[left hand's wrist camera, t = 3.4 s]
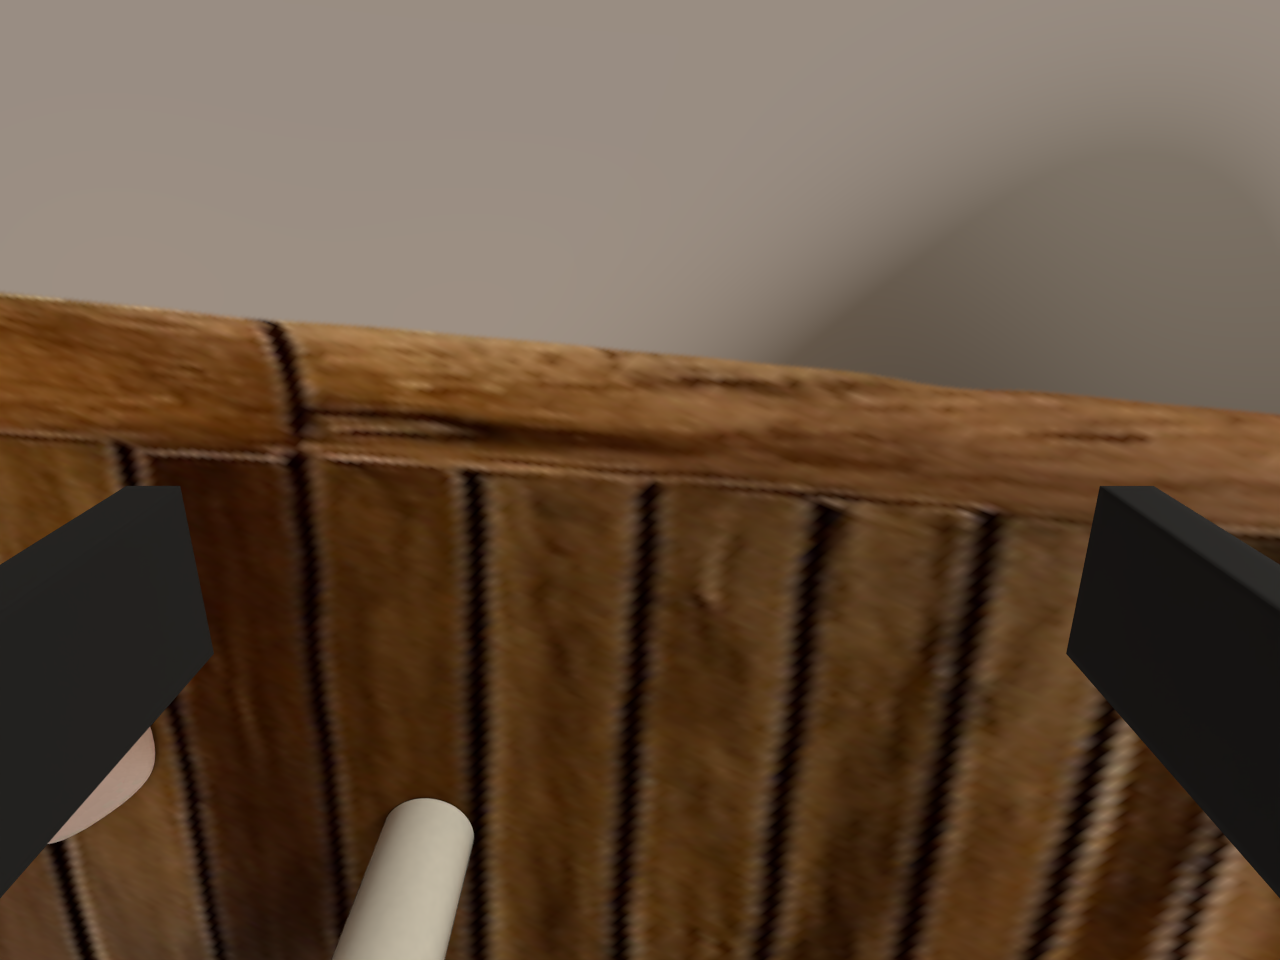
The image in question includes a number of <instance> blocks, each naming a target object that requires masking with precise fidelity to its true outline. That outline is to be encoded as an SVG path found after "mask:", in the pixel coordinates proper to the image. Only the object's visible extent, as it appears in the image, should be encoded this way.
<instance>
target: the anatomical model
mask: <svg viewBox="0 0 1280 960" xmlns="http://www.w3.org/2000/svg"><path fill="white" fill-rule="evenodd" d="M154 762H155V745H154V740H153V735H152V731H151V728H150V727H149V728H148V729H147V731H146V732H145V733H144V734H143V735H142V736H141V737H140V739H139V740H138V741H137V742H136V743H135V744H134V745H133V747H132V748H131V749H130V750H129V751H128V752H127V753H126V755H125V756H124V757H123V758H122V759H121V760H120V762H119V763H118V764H117V765H116V766H115V767H114V768H113V770H112V771H111V772H110V773H109V774H108V775H107V776H106V778H105V779H104V780H103V781H102V782H101V783H100V784H99V786H98V787H97V788H96V789H95V790H94V791H93V792H92V794H91V795H90V796H89V797H88V798H87V799H86V800H85V802H84V803H83V804H82V805H81V806H80V807H79V808H78V810H77V811H76V812H75V813H74V814H73V815H72V816H71V818H70V819H69V820H68V821H67V822H66V823H65V824H64V826H63V827H62V828H61V829H60V830H59V831H58V832H57V834H56V835H55V836H54V837H53V838H52V839H51V841H50V842H49V843H48V844H50V843H55V842H58V841H61V840H64V839H66V838H69V837H71V836H73V835H75V834H77V833H79V832H80V831H82V830H84V829H86V828H88V827H89V826H91V825H92V824H94V823H96V822H97V821H99V820H100V819H102V818H103V817H105V816H106V815H107V814H109V813H110V812H112V811H113V810H114V809H116V808H117V807H119V806H120V805H121V804H123V803H124V802H125V801H126V800H127V799H129V798H130V797H131V796H132V795H133V794H134V793H135V792H136V791H137V790H138V789H139V788H140V787H141V786H142V785H143V784H144V783H145V782H146V780H147V779H148V777H149V776H150V774H151V772H152V770H153V766H154Z"/></svg>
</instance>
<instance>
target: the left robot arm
mask: <svg viewBox="0 0 1280 960" xmlns="http://www.w3.org/2000/svg"><path fill="white" fill-rule="evenodd" d="M213 654H214V653H213V648H212V643H211V638H210V633H209V628H208V623H207V618H206V613H205V608H204V603H203V598H202V593H201V588H200V583H199V578H198V573H197V568H196V563H195V558H194V553H193V548H192V543H191V538H190V533H189V528H188V523H187V518H186V513H185V508H184V503H183V498H182V493H181V489H180V486H126V487H124V488H123V489H121V490H119V491H118V492H116V493H115V494H113V495H111V496H110V497H108V498H107V499H105V500H103V501H102V502H100V503H99V504H97V505H95V506H94V507H92V508H91V509H89V510H87V511H86V512H84V513H83V514H81V515H79V516H78V517H76V518H75V519H73V520H71V521H70V522H68V523H66V524H65V525H63V526H62V527H60V528H58V529H57V530H55V531H54V532H52V533H50V534H49V535H47V536H46V537H44V538H42V539H41V540H39V541H38V542H36V543H34V544H33V545H31V546H30V547H28V548H26V549H25V550H23V551H22V552H20V553H18V554H17V555H15V556H14V557H12V558H10V559H9V560H7V561H6V562H4V563H2V564H1V565H0V898H1V897H2V895H3V894H4V893H5V892H6V891H7V890H8V889H9V887H10V886H11V885H12V884H13V883H14V882H15V881H16V879H17V878H18V877H19V876H20V875H21V874H22V873H23V871H24V870H25V869H26V868H27V867H28V866H29V865H30V863H31V862H32V861H33V860H34V859H35V858H36V857H37V855H38V854H39V853H40V852H41V851H42V850H43V849H44V847H45V846H46V845H47V844H48V843H49V842H50V841H51V839H52V838H53V837H54V836H55V835H56V834H57V832H58V831H59V830H60V829H61V828H62V827H63V826H64V824H65V823H66V822H67V821H68V820H69V819H70V818H71V816H72V815H73V814H74V813H75V812H76V811H77V810H78V808H79V807H80V806H81V805H82V804H83V803H84V802H85V800H86V799H87V798H88V797H89V796H90V795H91V794H92V792H93V791H94V790H95V789H96V788H97V787H98V786H99V784H100V783H101V782H102V781H103V780H104V779H105V778H106V776H107V775H108V774H109V773H110V772H111V771H112V770H113V768H114V767H115V766H116V765H117V764H118V763H119V762H120V760H121V759H122V758H123V757H124V756H125V755H126V753H127V752H128V751H129V750H130V749H131V748H132V747H133V745H134V744H135V743H136V742H137V741H138V740H139V739H140V737H141V736H142V735H143V734H144V733H145V732H146V731H147V729H148V728H149V727H150V726H151V725H152V724H153V723H154V721H155V720H156V719H157V718H158V717H159V716H160V715H161V713H162V712H163V711H164V710H165V709H166V708H167V707H168V705H169V704H170V703H171V702H172V701H173V700H174V699H175V697H176V696H177V695H178V694H179V693H180V692H181V691H182V689H183V688H184V687H185V686H186V685H187V684H188V683H189V681H190V680H191V679H192V678H193V677H194V676H195V674H196V673H197V672H198V671H199V670H200V669H201V668H202V666H203V665H204V664H205V663H206V662H207V661H208V660H209V658H210V657H211V656H212V655H213ZM1066 654H1067V655H1068V656H1069V657H1070V658H1071V660H1072V661H1073V662H1074V663H1075V664H1076V665H1077V666H1078V668H1079V669H1080V670H1081V671H1082V672H1083V673H1084V674H1085V676H1086V677H1087V678H1088V679H1089V680H1090V681H1091V683H1092V684H1093V685H1094V686H1095V687H1096V688H1097V689H1098V691H1099V692H1100V693H1101V694H1102V695H1103V696H1104V697H1105V699H1106V700H1107V701H1108V702H1109V703H1110V704H1111V705H1112V707H1113V708H1114V709H1115V710H1116V711H1117V712H1118V713H1119V715H1120V716H1121V717H1122V718H1123V719H1124V720H1125V721H1126V723H1127V724H1128V725H1129V726H1130V727H1131V728H1132V729H1133V731H1134V732H1135V733H1136V734H1137V735H1138V736H1139V737H1140V739H1141V740H1142V741H1143V742H1144V743H1145V744H1146V745H1147V747H1148V748H1149V749H1150V750H1151V751H1152V752H1153V753H1154V755H1155V756H1156V757H1157V758H1158V759H1159V760H1160V762H1161V763H1162V764H1163V765H1164V766H1165V767H1166V768H1167V770H1168V771H1169V772H1170V773H1171V774H1172V775H1173V776H1174V778H1175V779H1176V780H1177V781H1178V782H1179V783H1180V784H1181V786H1182V787H1183V788H1184V789H1185V790H1186V791H1187V792H1188V794H1189V795H1190V796H1191V797H1192V798H1193V799H1194V800H1195V802H1196V803H1197V804H1198V805H1199V806H1200V807H1201V808H1202V810H1203V811H1204V812H1205V813H1206V814H1207V815H1208V816H1209V818H1210V819H1211V820H1212V821H1213V822H1214V823H1215V824H1216V826H1217V827H1218V828H1219V829H1220V830H1221V831H1222V832H1223V834H1224V835H1225V836H1226V837H1227V838H1228V839H1229V841H1230V842H1231V843H1232V844H1233V845H1234V846H1235V847H1236V849H1237V850H1238V851H1239V852H1240V853H1241V854H1242V855H1243V857H1244V858H1245V859H1246V860H1247V861H1248V862H1249V863H1250V865H1251V866H1252V867H1253V868H1254V869H1255V870H1256V871H1257V873H1258V874H1259V875H1260V876H1261V877H1262V878H1263V879H1264V881H1265V882H1266V883H1267V884H1268V885H1269V886H1270V887H1271V889H1272V890H1273V891H1274V892H1275V893H1276V894H1277V895H1278V897H1279V898H1280V565H1279V564H1278V563H1276V562H1274V561H1273V560H1271V559H1270V558H1268V557H1266V556H1265V555H1263V554H1262V553H1260V552H1258V551H1257V550H1255V549H1254V548H1252V547H1250V546H1249V545H1247V544H1246V543H1244V542H1242V541H1241V540H1239V539H1238V538H1236V537H1234V536H1233V535H1231V534H1230V533H1228V532H1226V531H1225V530H1223V529H1222V528H1220V527H1218V526H1217V525H1215V524H1214V523H1212V522H1210V521H1209V520H1207V519H1205V518H1204V517H1202V516H1201V515H1199V514H1197V513H1196V512H1194V511H1193V510H1191V509H1189V508H1188V507H1186V506H1185V505H1183V504H1181V503H1180V502H1178V501H1177V500H1175V499H1173V498H1172V497H1170V496H1169V495H1167V494H1165V493H1164V492H1162V491H1161V490H1159V489H1157V488H1156V487H1154V486H1100V489H1099V493H1098V498H1097V503H1096V508H1095V513H1094V518H1093V523H1092V528H1091V533H1090V538H1089V543H1088V548H1087V553H1086V558H1085V563H1084V568H1083V573H1082V578H1081V583H1080V588H1079V593H1078V598H1077V603H1076V608H1075V613H1074V618H1073V623H1072V628H1071V633H1070V638H1069V643H1068V648H1067V653H1066Z"/></svg>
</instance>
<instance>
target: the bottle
mask: <svg viewBox="0 0 1280 960" xmlns="http://www.w3.org/2000/svg"><path fill="white" fill-rule="evenodd" d="M473 842H474V832H473V829H472V826H471V824H470V822H469V820H468V818H467V817H466V816H465V815H464V814H463V813H462V812H461V811H460V810H459V809H457V808H456V807H454V806H453V805H451V804H449V803H447V802H444V801H441V800H437V799H430V798H420V799H413V800H409V801H407V802H404V803H402V804H400V805H399V806H397V807H396V808H394V809H393V810H392V811H391V812H390V814H389V815H388V816H387V818H386V820H385V822H384V825H383V828H382V830H381V833H380V835H379V838H378V840H377V843H376V846H375V848H374V851H373V853H372V856H371V858H370V861H369V864H368V866H367V869H366V871H365V874H364V876H363V879H362V882H361V884H360V887H359V889H358V892H357V894H356V897H355V900H354V902H353V905H352V907H351V910H350V912H349V915H348V918H347V920H346V923H345V925H344V928H343V930H342V933H341V936H340V938H339V941H338V943H337V946H336V948H335V951H334V954H333V956H332V959H331V960H445V957H446V952H447V948H448V944H449V940H450V936H451V932H452V928H453V924H454V920H455V916H456V912H457V908H458V904H459V900H460V896H461V891H462V887H463V883H464V879H465V875H466V871H467V867H468V863H469V859H470V855H471V851H472V847H473Z"/></svg>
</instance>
